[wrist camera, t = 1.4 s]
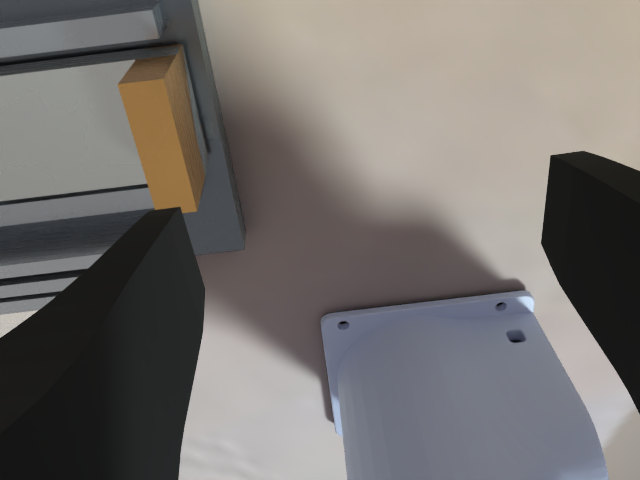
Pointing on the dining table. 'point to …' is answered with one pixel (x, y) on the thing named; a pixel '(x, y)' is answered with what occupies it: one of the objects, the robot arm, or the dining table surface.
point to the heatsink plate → (120, 202)
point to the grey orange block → (103, 127)
